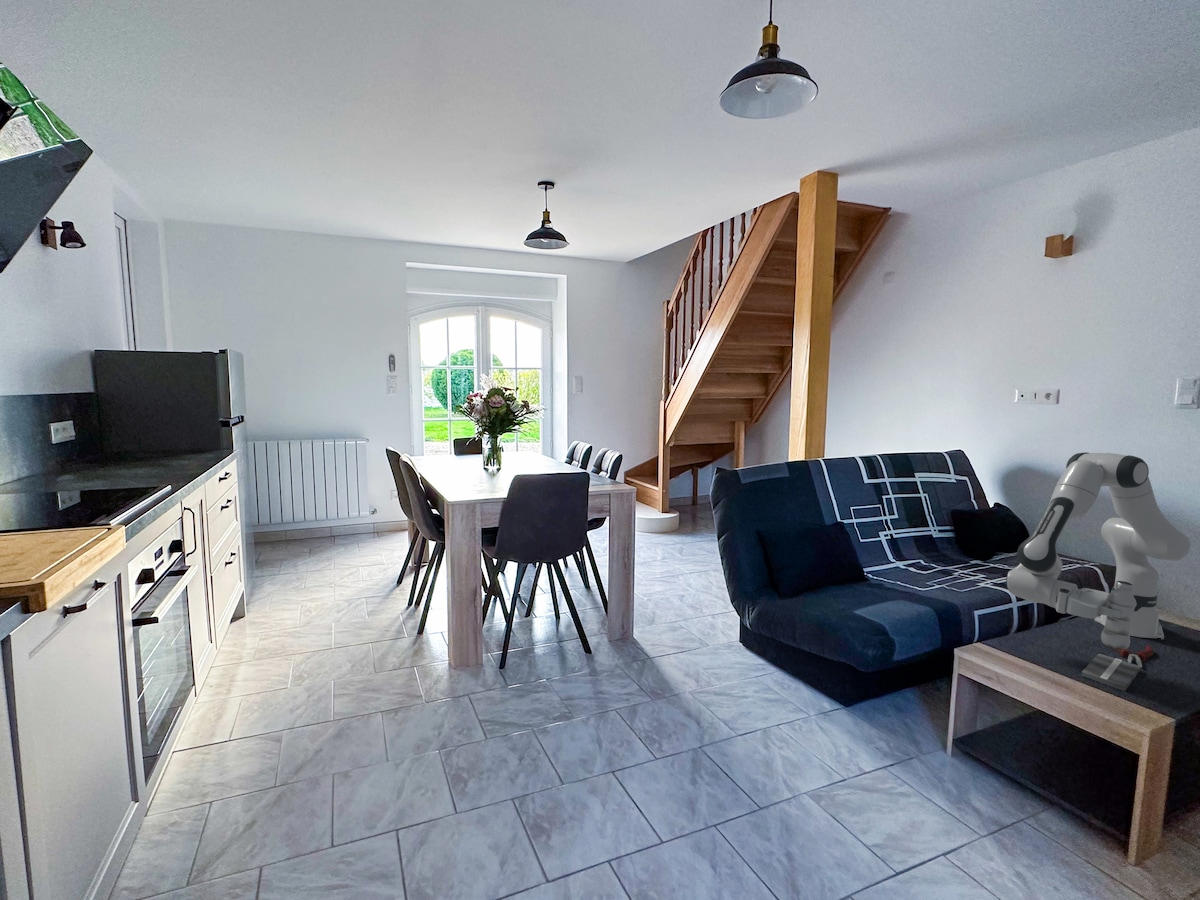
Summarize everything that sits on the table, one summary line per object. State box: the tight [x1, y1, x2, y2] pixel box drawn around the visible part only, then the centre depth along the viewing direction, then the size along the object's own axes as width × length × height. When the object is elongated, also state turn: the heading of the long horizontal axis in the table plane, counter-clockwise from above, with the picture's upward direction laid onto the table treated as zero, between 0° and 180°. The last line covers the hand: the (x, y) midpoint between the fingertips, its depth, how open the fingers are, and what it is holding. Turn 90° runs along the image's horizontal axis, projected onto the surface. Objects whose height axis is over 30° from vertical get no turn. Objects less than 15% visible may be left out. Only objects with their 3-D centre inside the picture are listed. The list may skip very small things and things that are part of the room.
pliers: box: [1110, 644, 1155, 669], centre depth 192 cm, size 12×20×3 cm, turn 144°
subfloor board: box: [1080, 653, 1141, 692], centre depth 180 cm, size 20×10×2 cm, turn 129°
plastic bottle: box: [1100, 581, 1136, 650], centre depth 178 cm, size 6×7×20 cm
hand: (1124, 611), depth 177 cm, fingers closed on plastic bottle, 6 cm apart
